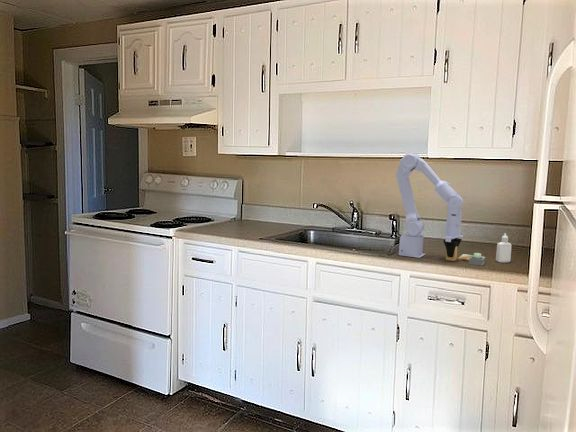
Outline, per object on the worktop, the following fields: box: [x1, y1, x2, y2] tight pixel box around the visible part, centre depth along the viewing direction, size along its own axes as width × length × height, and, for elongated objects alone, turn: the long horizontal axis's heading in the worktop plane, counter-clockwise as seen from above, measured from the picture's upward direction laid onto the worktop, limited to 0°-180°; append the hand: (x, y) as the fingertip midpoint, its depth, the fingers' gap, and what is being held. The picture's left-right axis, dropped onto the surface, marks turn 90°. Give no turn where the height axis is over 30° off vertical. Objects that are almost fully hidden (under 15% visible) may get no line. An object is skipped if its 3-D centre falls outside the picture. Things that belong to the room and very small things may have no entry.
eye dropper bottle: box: [495, 232, 512, 264], centre depth 198 cm, size 4×6×12 cm
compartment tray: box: [456, 253, 487, 262], centre depth 203 cm, size 10×10×1 cm
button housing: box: [468, 256, 486, 266], centre depth 194 cm, size 5×5×2 cm
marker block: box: [445, 246, 459, 262], centre depth 201 cm, size 4×4×6 cm
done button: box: [473, 252, 482, 259], centre depth 194 cm, size 3×3×3 cm
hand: (451, 256), depth 201 cm, fingers closed on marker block, 3 cm apart
